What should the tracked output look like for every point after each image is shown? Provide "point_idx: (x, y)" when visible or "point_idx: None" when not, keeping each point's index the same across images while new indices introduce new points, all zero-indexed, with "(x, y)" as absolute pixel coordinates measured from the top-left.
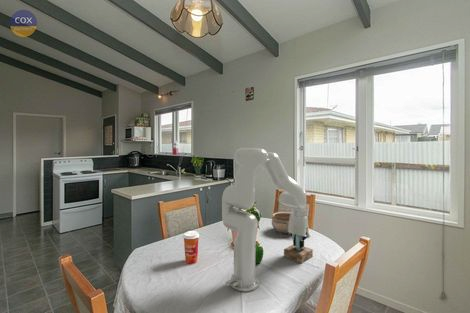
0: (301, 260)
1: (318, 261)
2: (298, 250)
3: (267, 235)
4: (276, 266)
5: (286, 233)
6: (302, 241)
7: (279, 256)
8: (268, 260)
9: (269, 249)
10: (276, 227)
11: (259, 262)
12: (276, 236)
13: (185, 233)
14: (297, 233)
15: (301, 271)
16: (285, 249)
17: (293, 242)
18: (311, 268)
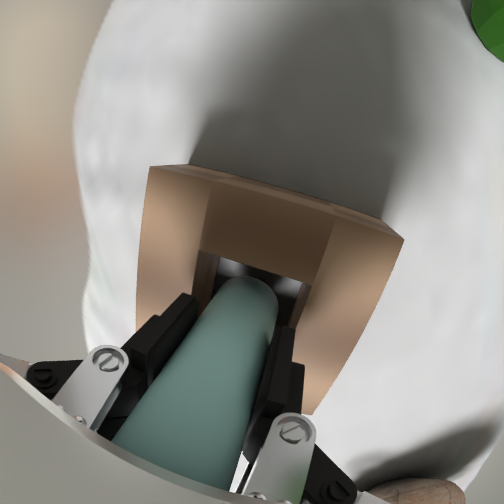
0: (178, 165)
1: (111, 267)
2: (229, 289)
3: (481, 433)
4: (355, 8)
5: (388, 485)
6: (116, 352)
7: (415, 194)
8: (456, 78)
9: (498, 285)
10: (447, 490)
11: (471, 11)
12: (440, 450)
13: None
14: (65, 464)
15: (156, 48)
16: (385, 235)
17: (291, 357)
18: (111, 135)
